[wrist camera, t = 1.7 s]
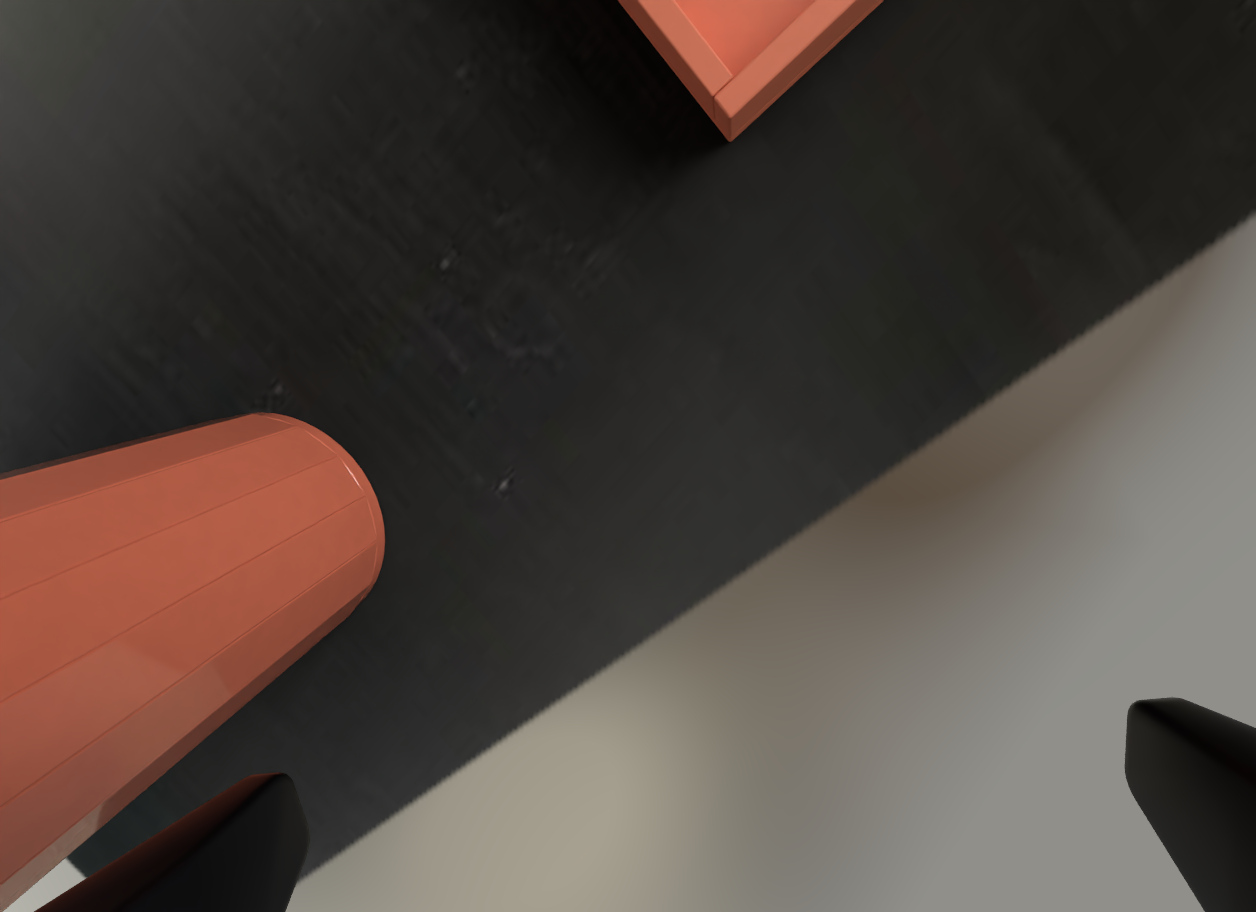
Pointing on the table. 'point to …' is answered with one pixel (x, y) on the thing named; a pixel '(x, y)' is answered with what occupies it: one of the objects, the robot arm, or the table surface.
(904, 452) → the table surface
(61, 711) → the coral cup
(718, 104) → the coral tray
